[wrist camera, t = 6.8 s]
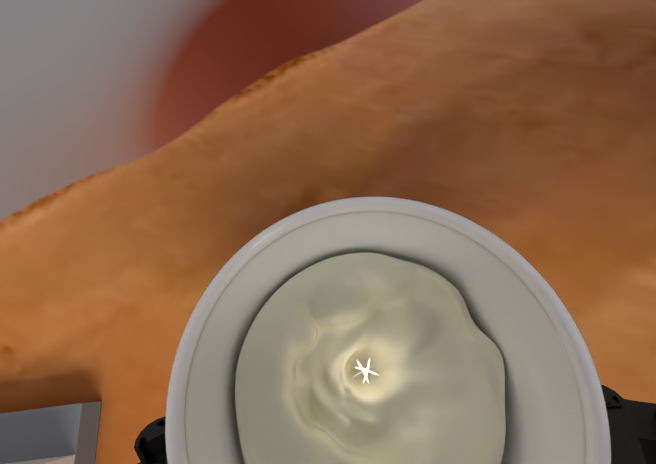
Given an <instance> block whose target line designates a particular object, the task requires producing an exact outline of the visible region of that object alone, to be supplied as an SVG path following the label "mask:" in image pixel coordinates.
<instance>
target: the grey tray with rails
mask: <svg viewBox="0 0 656 464" xmlns="http://www.w3.org/2000/svg"><path fill="white" fill-rule="evenodd" d="M101 402H102V401H97V402H87V403H78V404H70V405H63V406H55V407H47V408H40V409H32V410H24V411H17V412H9V413H1V414H0V464H94V462H95V453H96V445H97V436H98V428H99V419H100V411H101Z"/></svg>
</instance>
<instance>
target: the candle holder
mask: <svg viewBox="0 0 656 464" xmlns="http://www.w3.org/2000/svg"><path fill="white" fill-rule="evenodd" d="M222 410H223V411H222ZM221 414H222V415H221ZM220 417H221V418H220ZM165 440H166V455H167V464H611V439H610V429H609V421H608V415H607V409H606V404H605V400H604V395H603V391H602V387H601V384H600V380H599V377H598V374H597V371H596V368H595V365H594V362H593V360H592V357H591V355H590V352H589V350H588V348H587V345H586V343H585V341H584V339H583V337H582V335H581V333H580V331H579V329H578V327H577V325H576V324H575V322H574V320H573V318H572V317H571V315H570V313H569V312H568V310H567V309H566V307H565V306H564V304H563V303H562V301H561V300H560V298H559V297H558V296H557V294H556V293H555V292H554V290H553V289H552V288H551V286H550V285H549V284H548V283H547V282H546V280H545V279H544V278H543V277H542V276H541V275H540V274H539V272H538V271H537V270H536V269H535V268H534V267H533V266H532V265H531V264H530V263H529V262H528V261H527V260H526V259H525V258H523V257H522V256H521V255H520V254H519V253H518V252H517V251H516V250H514V249H513V248H512V247H511V246H509V245H508V244H507V243H506V242H504V241H503V240H502V239H500V238H499V237H497V236H496V235H494V234H493V233H491V232H490V231H488V230H487V229H485V228H483V227H482V226H480V225H478V224H476V223H474V222H473V221H471V220H469V219H467V218H465V217H462V216H460V215H458V214H456V213H453V212H451V211H448V210H446V209H443V208H440V207H437V206H434V205H430V204H427V203H423V202H418V201H414V200H408V199H402V198H393V197H355V198H346V199H340V200H335V201H330V202H326V203H322V204H318V205H315V206H312V207H309V208H306V209H304V210H301V211H299V212H296V213H294V214H292V215H290V216H288V217H286V218H284V219H282V220H280V221H278V222H276V223H275V224H273V225H271V226H270V227H268V228H267V229H265V230H264V231H262V232H261V233H259V234H258V235H256V236H255V237H254V238H253V239H251V240H250V241H249V242H248V243H246V244H245V245H244V246H243V247H242V248H241V249H240V250H238V251H237V252H236V253H235V254H234V255H233V256H232V257H231V258H230V259H229V260H228V262H227V263H226V264H225V265H224V266H223V267H222V268H221V270H220V271H219V272H218V273H217V274H216V276H215V277H214V278H213V280H212V281H211V282H210V284H209V285H208V287H207V288H206V290H205V291H204V293H203V294H202V296H201V298H200V299H199V301H198V303H197V305H196V306H195V308H194V310H193V312H192V314H191V316H190V318H189V320H188V323H187V325H186V327H185V330H184V332H183V335H182V337H181V340H180V343H179V346H178V349H177V352H176V355H175V359H174V363H173V367H172V371H171V376H170V381H169V387H168V394H167V403H166V418H165Z"/></svg>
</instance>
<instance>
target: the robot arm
mask: <svg viewBox="0 0 656 464" xmlns="http://www.w3.org/2000/svg"><path fill="white" fill-rule="evenodd" d="M601 387H602V391H603V395H604V400H605V404H606V409H607V415H608V421H609V429H610V439H611V464H656V404H653V403H646V402H638V401H631V400H626V399H623V398H622V397H621V396H620V395H619V394H617V393H616V392H615V391H613V390H611V389H610V388H608V387H606V386H603V385H601ZM222 411H223V410H222ZM221 415H222V414H221ZM165 418H166V417H163V418H160V419H157V420H155V421H154V422H152V423H150V424H149V425H147V426H146V427H145V428H144V429H143V430H142V431H141V432H140V434H139V436H138V437H137V439H136V441H135V446H134V449H135V451H136V453H137V455H138V457H139V459H140V461H141V462H140V463H138V464H167V455H166V440H165ZM220 418H221V417H220Z"/></svg>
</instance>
